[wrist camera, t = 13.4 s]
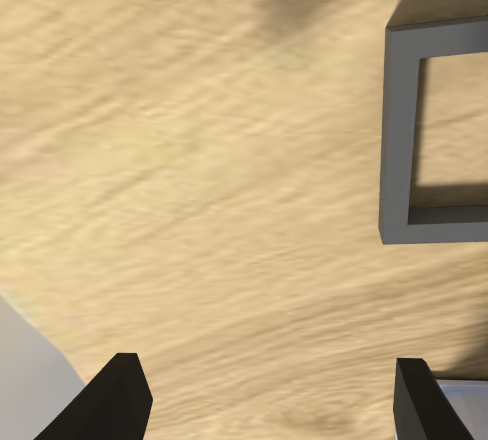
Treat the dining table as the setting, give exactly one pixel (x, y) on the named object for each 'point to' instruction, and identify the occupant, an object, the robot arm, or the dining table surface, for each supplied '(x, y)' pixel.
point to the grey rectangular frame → (402, 133)
